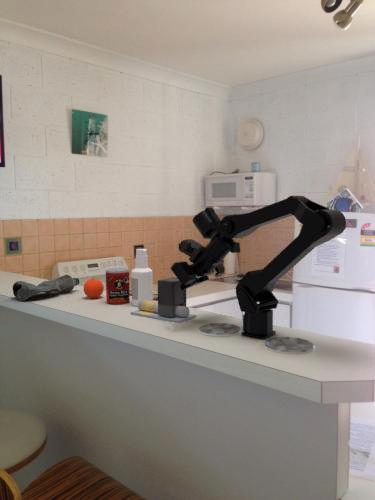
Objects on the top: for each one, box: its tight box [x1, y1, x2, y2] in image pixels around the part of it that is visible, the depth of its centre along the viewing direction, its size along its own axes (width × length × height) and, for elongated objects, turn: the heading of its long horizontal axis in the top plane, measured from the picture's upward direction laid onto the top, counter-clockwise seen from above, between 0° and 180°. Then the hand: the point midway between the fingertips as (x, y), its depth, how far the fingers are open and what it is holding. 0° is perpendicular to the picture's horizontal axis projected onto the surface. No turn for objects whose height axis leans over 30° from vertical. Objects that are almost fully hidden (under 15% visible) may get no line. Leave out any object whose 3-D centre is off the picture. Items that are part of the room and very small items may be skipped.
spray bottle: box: [130, 248, 154, 307], centre depth 149 cm, size 7×7×18 cm
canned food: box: [105, 267, 131, 306], centre depth 153 cm, size 8×8×11 cm
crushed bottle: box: [12, 274, 80, 302], centre depth 166 cm, size 13×7×25 cm
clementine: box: [83, 277, 106, 299], centre depth 161 cm, size 8×7×7 cm
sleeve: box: [157, 277, 187, 317], centre depth 132 cm, size 5×7×10 cm
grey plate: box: [130, 300, 197, 324], centre depth 134 cm, size 18×8×4 cm, turn 54°
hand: (181, 288), depth 130 cm, fingers closed
